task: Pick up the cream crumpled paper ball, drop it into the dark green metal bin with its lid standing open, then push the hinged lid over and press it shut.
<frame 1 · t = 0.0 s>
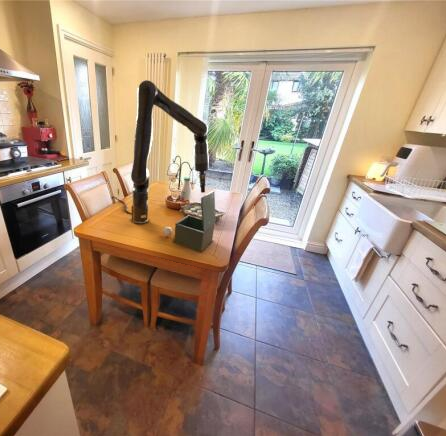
hand: (202, 190, 133), 22 cm above the table, tool pointing down, fingers open, 8 cm apart
bin lid: (208, 210, 113), point 19 cm above the table, hinge at 80.0°
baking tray: (200, 215, 156), on the table
bin: (193, 241, 125), on the table
milk bottle: (185, 204, 173), on the table
paper ball: (167, 236, 128), on the table
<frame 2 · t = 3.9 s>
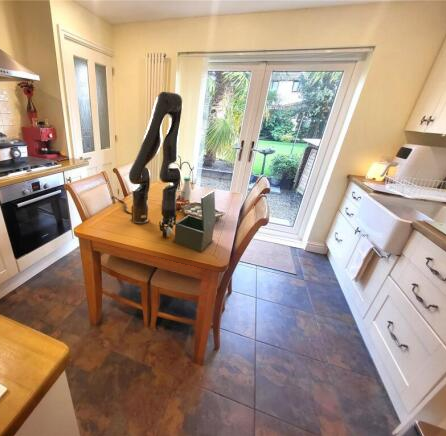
hand: (167, 234, 128), 1 cm above the table, tool pointing down, fingers closed on paper ball, 5 cm apart
paper ball: (167, 236, 129), on the table, touching gripper
everything else where it was.
when the fingers open (15 cm above the table, at t = 8.7 s): paper ball drops 14 cm, resting on bin.
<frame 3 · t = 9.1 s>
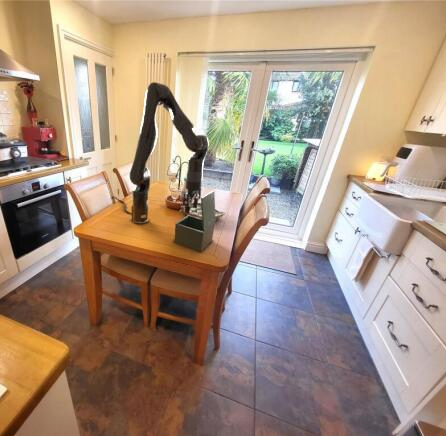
hand: (191, 210, 119), 17 cm above the table, tool pointing down, fingers open, 8 cm apart
paper ball: (188, 238, 126), point 1 cm above the table, touching bin
everything else where it was.
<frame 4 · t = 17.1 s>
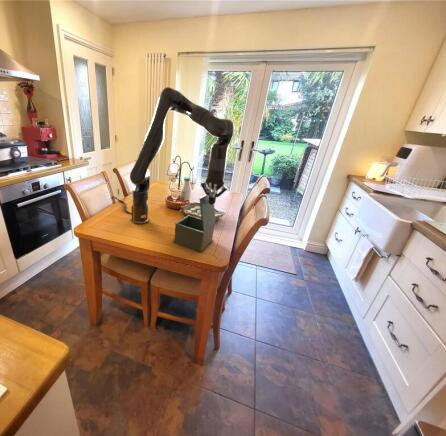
hand: (211, 204, 111), 23 cm above the table, tool pointing down, fingers closed
bin lid: (208, 210, 113), point 19 cm above the table, hinge at 77.5°, touching gripper
everything else where it was.
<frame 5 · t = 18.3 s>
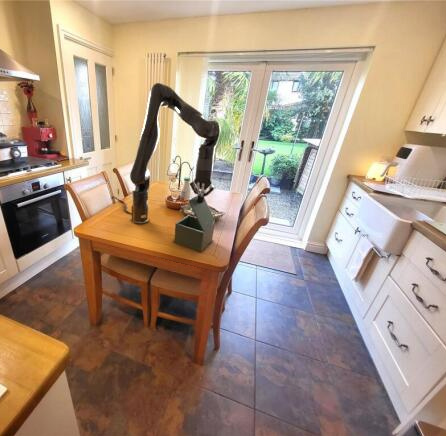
hand: (200, 203, 114), 22 cm above the table, tool pointing down, fingers closed
bin lid: (202, 211, 115), point 18 cm above the table, hinge at 55.9°, touching gripper
everything else where it was.
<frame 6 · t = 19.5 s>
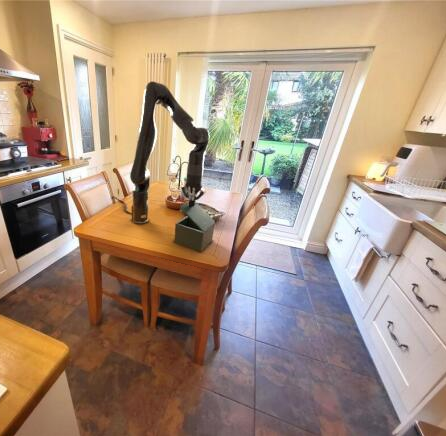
hand: (191, 206, 118), 19 cm above the table, tool pointing down, fingers closed
bin lid: (197, 214, 117), point 16 cm above the table, hinge at 33.1°, touching gripper
everything else where it was.
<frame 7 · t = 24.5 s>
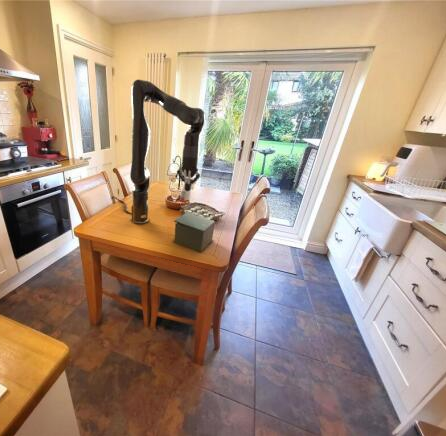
hand: (187, 190, 116), 27 cm above the table, tool pointing down, fingers closed
bin lid: (194, 221, 120), point 12 cm above the table, hinge at 2.6°
everything else where it was.
at the end: paper ball inside the target area in the bin (3.0 cm from its centre), point 0.8 cm above the bin's base; bin lid at +3° (first picture: +80°) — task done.
